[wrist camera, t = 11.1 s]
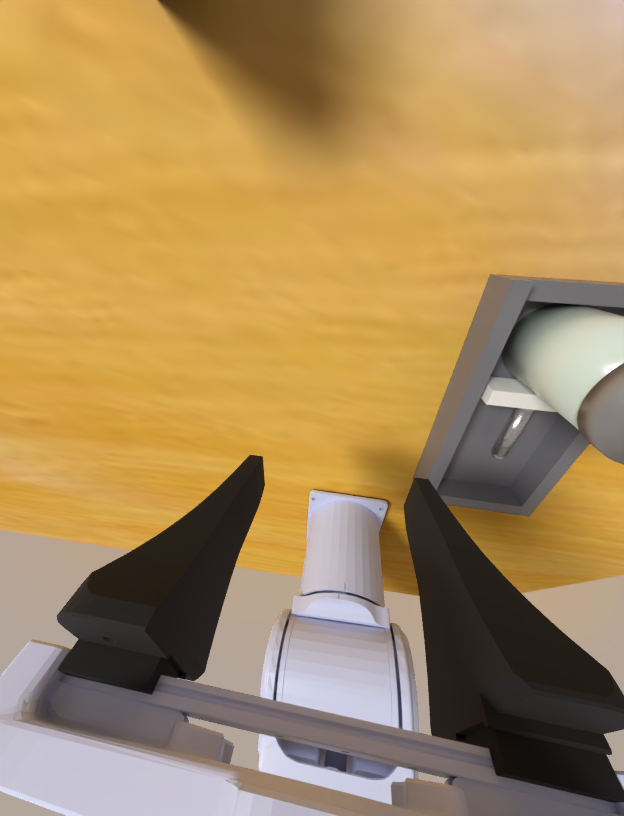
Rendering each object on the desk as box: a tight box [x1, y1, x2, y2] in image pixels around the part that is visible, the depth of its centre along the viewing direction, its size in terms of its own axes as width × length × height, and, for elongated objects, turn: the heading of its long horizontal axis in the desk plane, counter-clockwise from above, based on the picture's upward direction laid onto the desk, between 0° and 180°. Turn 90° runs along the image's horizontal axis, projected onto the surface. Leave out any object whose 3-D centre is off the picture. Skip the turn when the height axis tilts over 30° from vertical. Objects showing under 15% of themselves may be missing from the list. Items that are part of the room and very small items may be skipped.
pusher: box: [481, 377, 557, 460], centre depth 18 cm, size 6×6×2 cm
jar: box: [501, 303, 624, 464], centre depth 13 cm, size 5×5×8 cm
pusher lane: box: [413, 274, 624, 516], centre depth 18 cm, size 17×9×3 cm, turn 177°
